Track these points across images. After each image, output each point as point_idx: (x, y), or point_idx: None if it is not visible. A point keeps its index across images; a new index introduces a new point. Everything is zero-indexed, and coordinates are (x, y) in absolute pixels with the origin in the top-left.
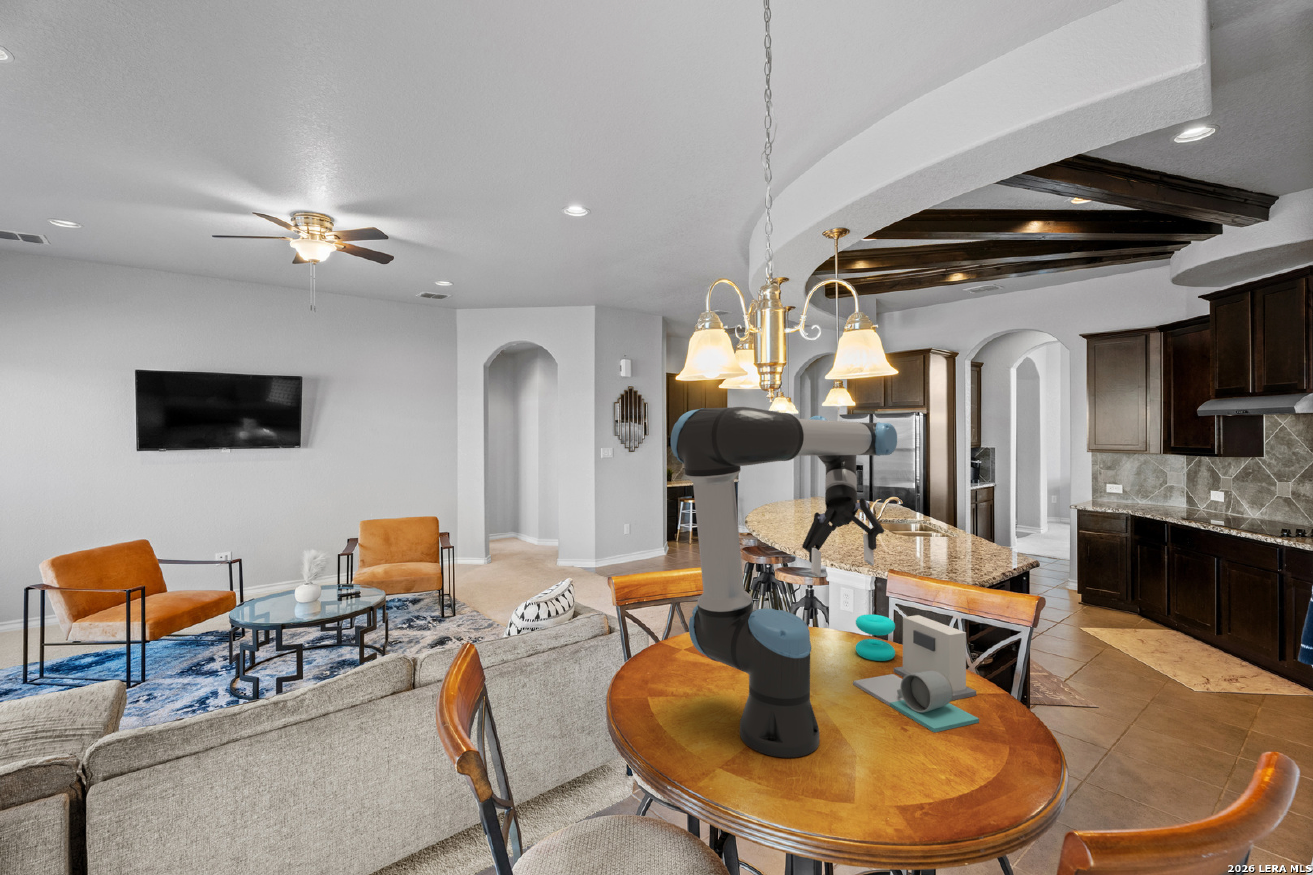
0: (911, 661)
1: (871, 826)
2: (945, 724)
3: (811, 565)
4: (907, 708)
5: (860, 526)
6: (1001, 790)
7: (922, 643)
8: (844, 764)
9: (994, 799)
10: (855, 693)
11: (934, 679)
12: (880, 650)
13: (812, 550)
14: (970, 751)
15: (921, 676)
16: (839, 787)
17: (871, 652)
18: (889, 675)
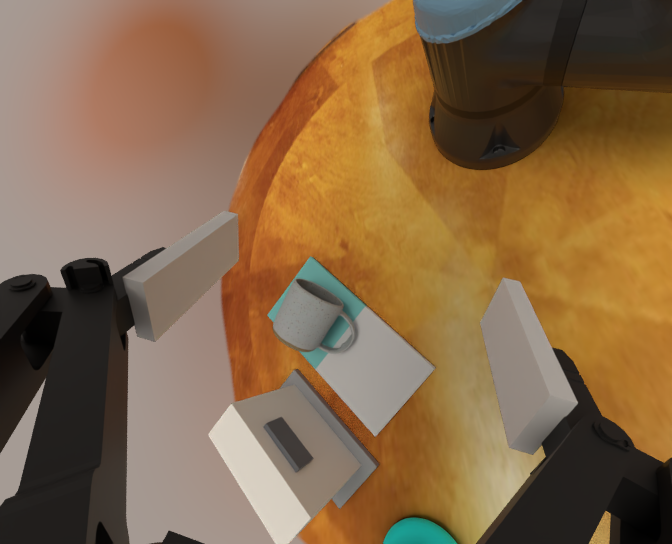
0: (336, 454)
1: (352, 44)
2: (299, 275)
3: (531, 306)
4: (342, 298)
5: (103, 341)
6: (262, 177)
7: (294, 440)
8: (393, 117)
9: (268, 158)
10: (423, 328)
11: (285, 302)
12: (404, 534)
13: (562, 382)
14: (281, 234)
15: (297, 289)
16: (389, 73)
17: (423, 526)
18: (380, 426)
